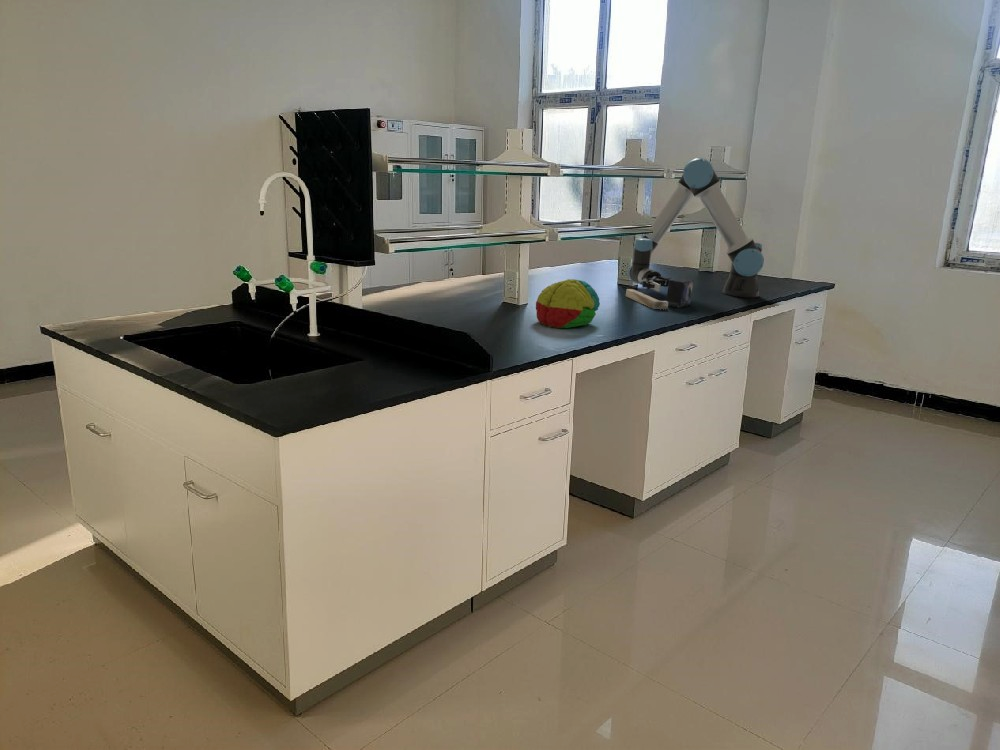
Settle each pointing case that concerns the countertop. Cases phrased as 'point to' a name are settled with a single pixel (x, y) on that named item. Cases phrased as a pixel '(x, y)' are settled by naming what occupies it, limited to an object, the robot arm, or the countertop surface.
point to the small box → (679, 292)
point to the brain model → (567, 304)
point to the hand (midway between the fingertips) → (674, 288)
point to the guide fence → (646, 299)
